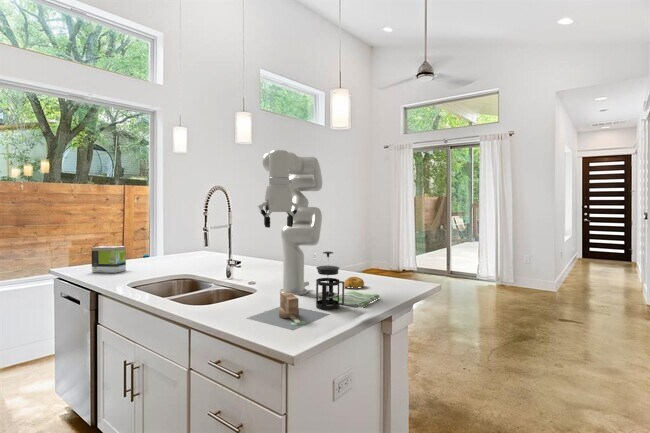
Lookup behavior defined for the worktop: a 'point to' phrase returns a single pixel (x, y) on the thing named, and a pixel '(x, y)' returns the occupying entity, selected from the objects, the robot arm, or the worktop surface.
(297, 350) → the worktop surface
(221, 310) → the worktop surface
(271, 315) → the dial plate
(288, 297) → the knob
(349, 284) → the bagel
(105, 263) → the tea box
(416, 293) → the worktop surface
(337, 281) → the french press
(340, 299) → the dish towel
